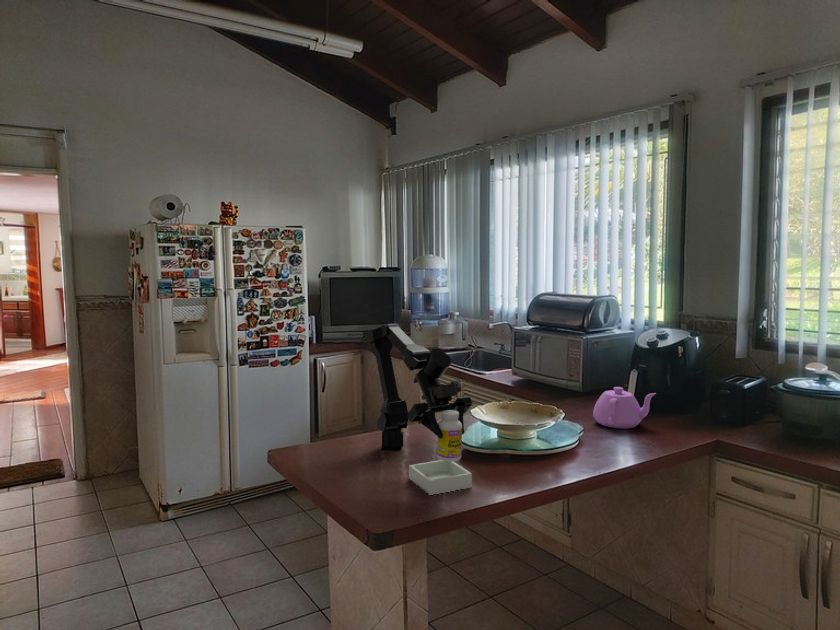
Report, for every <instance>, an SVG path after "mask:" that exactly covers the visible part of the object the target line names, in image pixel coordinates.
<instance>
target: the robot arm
mask: <svg viewBox="0 0 840 630" xmlns="http://www.w3.org/2000/svg"><path fill="white" fill-rule="evenodd" d="M365 340H366V344H367V345H368V350H369V351H370V352H371V353H372V354H373V355H374V357H375V360H376V366H377V371H378V375H379V381H380V386H381V392H382V396H383V402H382V404H381V408H380V416H379V417H378V419H377V420H376V422H375V424H376V429H377V430H379V431H380V432H381V446H380V450H382V451H402V449H403V448H402V447H404V441H405V440H404V439H405V438H404V437H405V433H404V431H403V429H407V428H408V423H418V424H420V425H423V426H424V427H425V428H426V429H428V430H429V431H430V432H432V434H434V435H435V436H437V438H438V437H439V438H440V439H442V437H443V435H442V432H441V430H440V427H439V425H438V423H439V422H438V420H437V419H436V414H438V413H442V411H445V410H454V411H457V412H459V417H458V421H460V422H461V424H462V436H463V435H464V434H465V428H464V427H465V425H464V424H465V423H464V414H466V413H467V411H468V410H470V408H471V407H472V406H473V405H474V402H473V400H472V398H471V397H470V396H468V395H466V396H458V394H459V393H460V392H462V385H461V383H460V381H459V380H453V381H451V382H449V383H448V384H444V383H441V382H440V380H439V379H440V378H441V377H443V375H444V374H445V373H446V371H447V370H448V368H449V367H450V365H451V363H452V359H451V356H450V355H448V354H447V353H446V352H444V351H442V350H441V349H440V348H439V347H434V348H432V349H431V351H430V350H429V349H428V348H426V347H424V346H423V345H419V344H416V343H415V342H414V341H413V340H412V339H411V337H409V335H407V334H406V333H405V332H404V331H403V329H401V325H399V323H386V324H382V325H381V326H379V327H377V328H372V329H369V330H368V332H367V333H366V335H365ZM393 347H395V348H396V349H397V350H398V351H399V352H400V354H402V356H403V362H404V363H403V364H405V366H406V367H407V369H408V370H409V371H418V372H417V373H415V374H414V375H415V376H414V378H413V383H414V384H418V386H419V387H420V390H421V392H422V396H421V399H422V401H424V400H425V401H426V402H419V403H414V404H413V405H412V407H411V409H410V410H408V406H407V405H408V404H407V402H406V400H402V398H400V396H399V391H398V387H397V385H398V384H397V380H396V375H395V370H394V366H393V361H392V354H391V352H392V350H393ZM455 396H458V397H457V398H456V399H455V400H454V401H453V402H452V400H453V397H455ZM450 401H451V402H450Z"/></svg>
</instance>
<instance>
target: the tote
mask: <svg viewBox="0 0 840 630" xmlns="http://www.w3.org/2000/svg"><path fill="white" fill-rule="evenodd" d="M472 474H473V473H472V472H470V471H469V470H467V469H466V468H464V467H463V466H462V465H460V464H458V463H456V461H452V462H448V461H443V460H440V459H439V460H432V461H427V462H421V463H415V464H409V465H408V480H409V479H410V480H409V481H411V480H412V481H413V482H414V483H415V484H416V485H415V484H414V483H413V482H412V481H411V482H412V483H413V484H414V485H415V486H417V485H418V486H419V487H420V488H421V489H423V490H424V491H425V492H426V493H428V494H429V495H433V494H439V493H444V494H446V493H445V492H449V493H451V492H450V491H454V492H456V491H455V490H459V491H461V490H460V489H464V490H467V489H466V488H469V489H472V488H471V487H472V481H473V480H472V479H473V478H472V477H473V475H472ZM418 486H417V487H418ZM419 487H418V488H419ZM420 488H419V489H420ZM421 489H420V490H421ZM423 490H422V491H423ZM424 491H423V492H424ZM425 492H424V493H425ZM426 493H425V494H426ZM429 495H428V496H429ZM439 495H440V494H439Z"/></svg>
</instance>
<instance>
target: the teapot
mask: <svg viewBox="0 0 840 630" xmlns="http://www.w3.org/2000/svg"><path fill="white" fill-rule="evenodd" d="M656 394H657V393H656V392H654V393H648V394H647V395H645V397H644V402H643V406H642V407H641V405H640V404H639V401H638V400H637V398H636V397H635V395H633V393H632V392H629V391H626V390H624V387H621V386H614V387H613V390H612V389H610V390H605V391H603V392H602V394H601V395H600V396H599V398H598V399H597V400H596V402H595V405H594V407H593V412H592V416H593V418H594V419H595V421H596V422H597V423H598V424H600V425H602V426H605V427H609V428H615V429H625V430H626V429H627V430H628V429H633V428H636V427H637V426H638V425H639V424H640V423H641V422H642V420H643V419H644V418H646V417H647V415H648V413H649V412H650V406H651V405H650V404H651V399H652V398H653V396H655V395H656Z"/></svg>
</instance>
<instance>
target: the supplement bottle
mask: <svg viewBox="0 0 840 630" xmlns="http://www.w3.org/2000/svg"><path fill="white" fill-rule="evenodd" d="M458 417H459V412H457V411H454V410H445V411H442V412H441V420H440V421H438V422H437V423H438V425H439V427H440V430H441V432H442V435H443V437H442V439H440V438H439V437H438V436H437V449H436V451H437V453H436V455H437V458H438V459H439V460H443V461H448V462H452V461H453V462H456V461H459V460H460V459H461V458H462V445H463V442H462V441H463V435H462V424H461V422H460V421H458Z"/></svg>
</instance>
